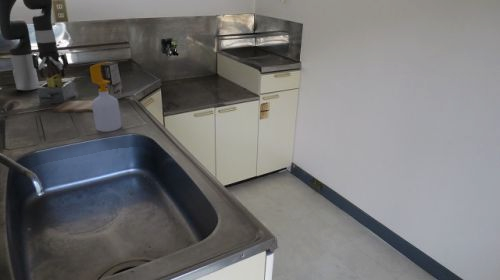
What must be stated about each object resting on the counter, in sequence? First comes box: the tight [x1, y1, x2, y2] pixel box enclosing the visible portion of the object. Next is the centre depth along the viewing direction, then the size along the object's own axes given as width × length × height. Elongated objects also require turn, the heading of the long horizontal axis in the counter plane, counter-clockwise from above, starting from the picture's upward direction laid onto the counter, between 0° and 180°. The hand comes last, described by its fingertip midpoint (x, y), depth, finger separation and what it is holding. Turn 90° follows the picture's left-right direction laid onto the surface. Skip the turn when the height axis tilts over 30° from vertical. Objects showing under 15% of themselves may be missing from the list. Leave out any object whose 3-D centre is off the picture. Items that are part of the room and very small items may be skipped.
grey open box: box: [36, 80, 76, 104], centre depth 173 cm, size 11×16×7 cm
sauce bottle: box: [45, 56, 63, 87], centre depth 172 cm, size 7×6×20 cm
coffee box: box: [94, 60, 125, 100], centre depth 176 cm, size 9×6×16 cm
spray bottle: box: [89, 61, 122, 133], centre depth 139 cm, size 9×9×25 cm
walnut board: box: [54, 100, 93, 113], centre depth 165 cm, size 16×12×1 cm
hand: (53, 77), depth 172 cm, fingers open, 8 cm apart
